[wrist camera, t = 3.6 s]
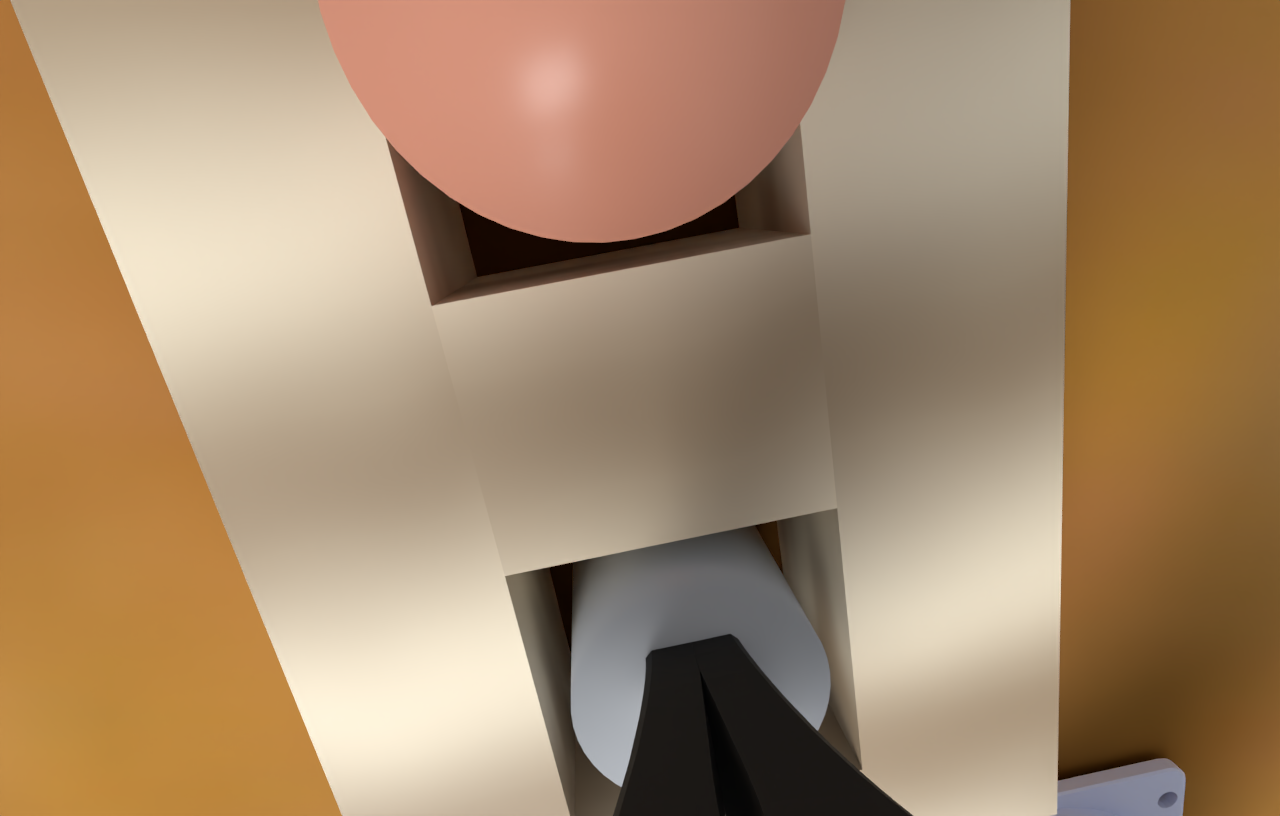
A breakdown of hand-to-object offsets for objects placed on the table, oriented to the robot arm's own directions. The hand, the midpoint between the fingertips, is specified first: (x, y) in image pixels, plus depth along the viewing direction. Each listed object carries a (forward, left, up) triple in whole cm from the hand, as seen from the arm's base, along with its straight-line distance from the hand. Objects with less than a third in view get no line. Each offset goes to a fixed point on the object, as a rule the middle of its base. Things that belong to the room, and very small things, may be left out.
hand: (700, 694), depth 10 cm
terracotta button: (+9, 0, -1) cm, 9 cm away
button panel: (+4, 0, -4) cm, 6 cm away
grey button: (0, 0, -4) cm, 4 cm away
